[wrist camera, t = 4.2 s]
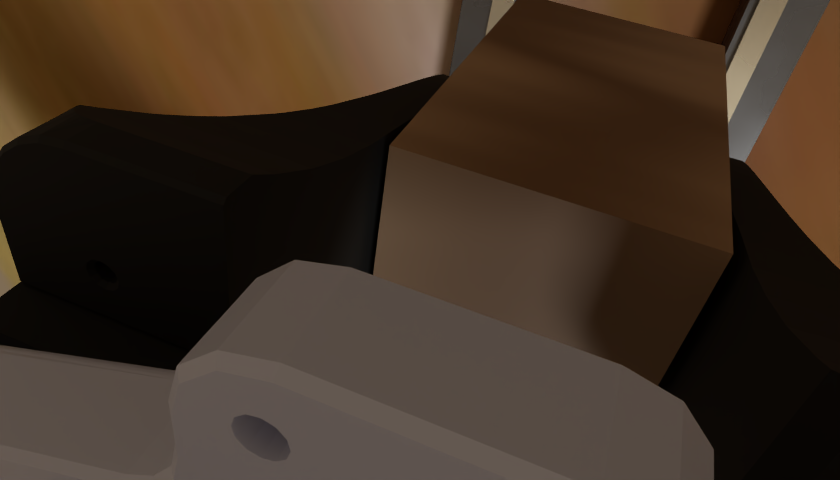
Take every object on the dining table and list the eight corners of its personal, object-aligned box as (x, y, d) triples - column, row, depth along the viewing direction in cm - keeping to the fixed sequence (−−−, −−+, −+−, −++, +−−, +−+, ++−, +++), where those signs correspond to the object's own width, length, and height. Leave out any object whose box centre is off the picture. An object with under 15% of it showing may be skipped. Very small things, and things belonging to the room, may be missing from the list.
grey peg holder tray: (413, 321, 29) (400, 345, 28) (517, -224, 17) (500, -224, 15) (612, 394, 27) (607, 424, 26) (892, -153, 15) (909, -146, 14)
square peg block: (482, 162, 16) (361, 365, 10) (522, -7, 13) (389, 144, 8) (649, 214, 15) (613, 464, 9) (725, 45, 12) (733, 254, 7)
